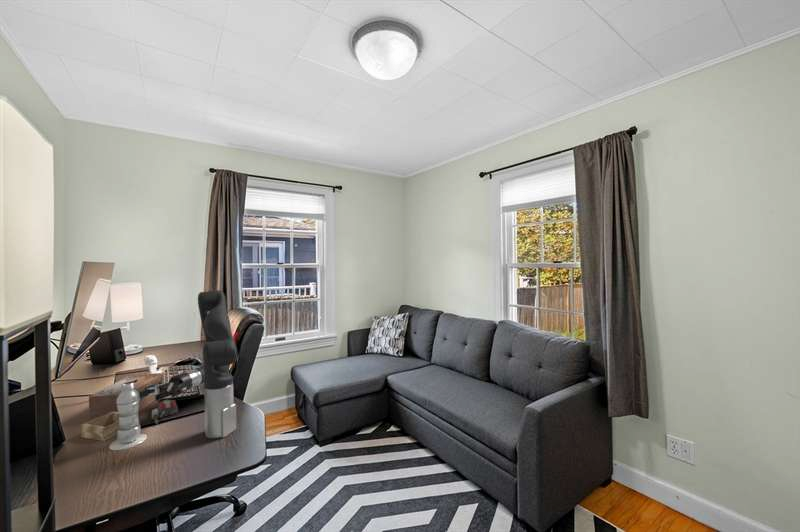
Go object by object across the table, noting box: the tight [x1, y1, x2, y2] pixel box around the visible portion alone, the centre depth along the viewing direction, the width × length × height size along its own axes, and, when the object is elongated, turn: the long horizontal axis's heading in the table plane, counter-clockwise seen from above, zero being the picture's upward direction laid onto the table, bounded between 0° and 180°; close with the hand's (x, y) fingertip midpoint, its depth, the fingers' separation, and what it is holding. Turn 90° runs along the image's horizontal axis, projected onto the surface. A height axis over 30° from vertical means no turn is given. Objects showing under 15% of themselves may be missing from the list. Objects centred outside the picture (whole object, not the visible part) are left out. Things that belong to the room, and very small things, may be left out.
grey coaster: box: [109, 433, 148, 451], centre depth 114 cm, size 10×10×1 cm
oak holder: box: [80, 412, 119, 442], centre depth 121 cm, size 12×11×4 cm
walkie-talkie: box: [151, 398, 179, 425], centre depth 135 cm, size 9×4×20 cm
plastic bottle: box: [116, 381, 142, 443], centre depth 114 cm, size 6×7×20 cm
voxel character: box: [144, 354, 163, 374], centre depth 166 cm, size 7×12×15 cm
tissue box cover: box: [88, 372, 165, 421], centre depth 144 cm, size 26×14×10 cm, turn 10°
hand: (147, 396), depth 120 cm, fingers open, 8 cm apart
